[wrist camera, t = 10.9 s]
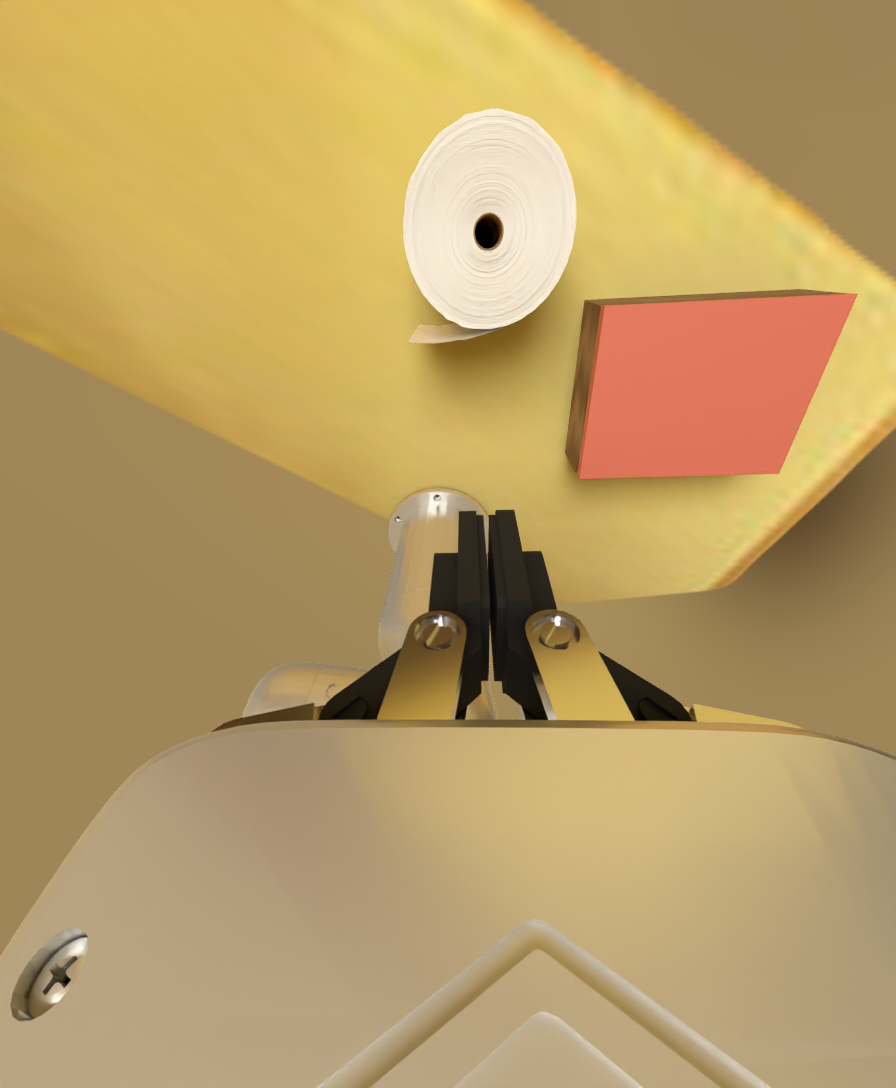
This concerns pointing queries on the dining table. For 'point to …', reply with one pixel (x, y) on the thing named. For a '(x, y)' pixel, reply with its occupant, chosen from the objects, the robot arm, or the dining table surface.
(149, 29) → the dining table surface
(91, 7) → the dining table surface
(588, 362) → the walnut box
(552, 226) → the toilet tissue
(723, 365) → the lid
